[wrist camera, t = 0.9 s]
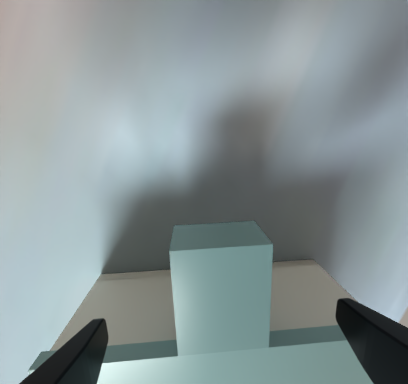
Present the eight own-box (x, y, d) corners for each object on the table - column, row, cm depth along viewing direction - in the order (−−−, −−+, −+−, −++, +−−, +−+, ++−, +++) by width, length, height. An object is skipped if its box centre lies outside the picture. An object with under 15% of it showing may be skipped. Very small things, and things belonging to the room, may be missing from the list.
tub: (301, 377, 19) (351, 481, 13) (122, 396, 18) (90, 516, 12) (313, 259, 16) (381, 324, 10) (100, 274, 15) (46, 354, 10)
